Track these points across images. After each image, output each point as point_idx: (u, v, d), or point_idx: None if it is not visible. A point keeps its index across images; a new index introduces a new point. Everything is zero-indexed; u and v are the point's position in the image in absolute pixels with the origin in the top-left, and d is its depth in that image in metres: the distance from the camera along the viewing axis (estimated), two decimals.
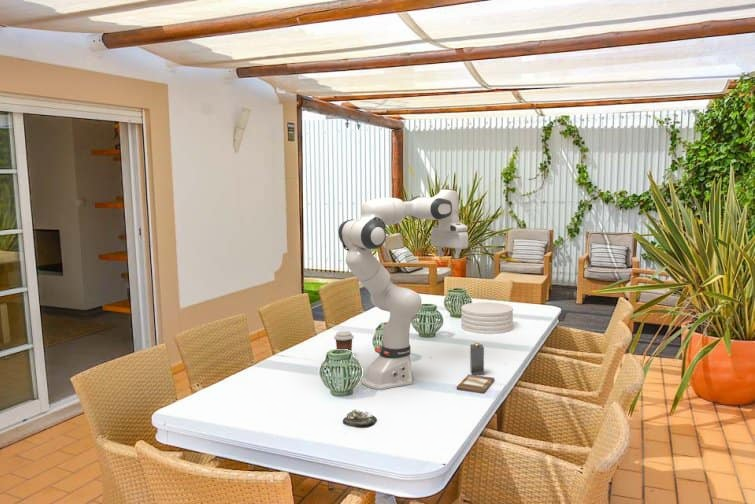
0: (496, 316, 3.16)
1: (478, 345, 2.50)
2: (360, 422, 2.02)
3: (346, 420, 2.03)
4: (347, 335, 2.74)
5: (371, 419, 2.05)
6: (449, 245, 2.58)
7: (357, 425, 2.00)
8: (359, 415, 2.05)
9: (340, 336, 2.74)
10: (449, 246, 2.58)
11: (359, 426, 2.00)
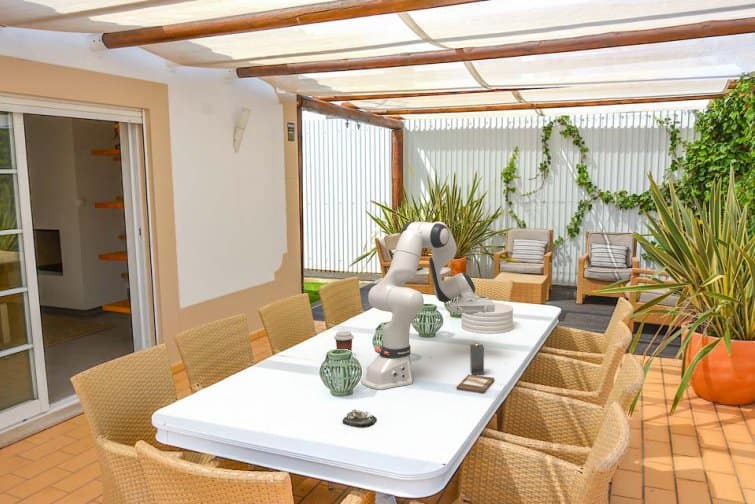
0: (496, 316, 3.16)
1: (478, 345, 2.50)
2: (359, 422, 2.02)
3: (346, 420, 2.04)
4: (347, 335, 2.74)
5: (371, 419, 2.05)
6: (477, 304, 2.67)
7: (357, 425, 2.00)
8: (359, 415, 2.05)
9: (340, 336, 2.74)
10: (477, 304, 2.67)
11: (359, 426, 2.00)
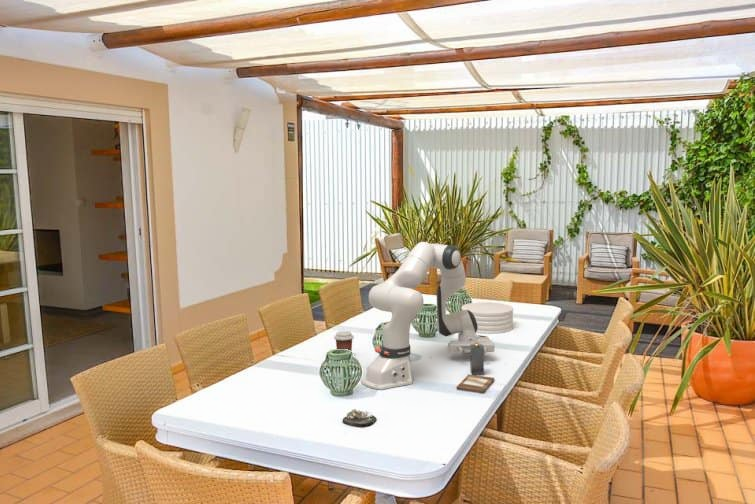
0: (496, 316, 3.16)
1: (478, 345, 2.50)
2: (359, 421, 2.02)
3: (346, 419, 2.04)
4: (347, 335, 2.74)
5: (371, 419, 2.05)
6: None
7: (356, 425, 2.00)
8: (359, 415, 2.05)
9: (340, 336, 2.74)
10: None
11: (358, 426, 2.00)
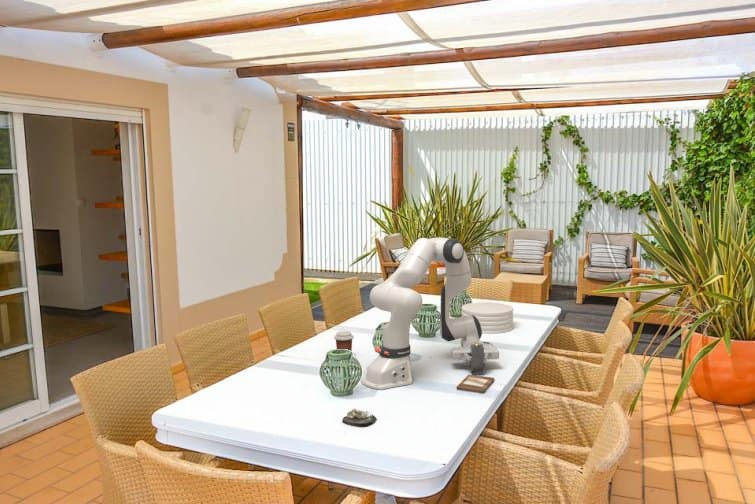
0: (496, 316, 3.16)
1: (478, 345, 2.50)
2: (359, 421, 2.02)
3: (345, 419, 2.04)
4: (347, 335, 2.74)
5: (371, 419, 2.05)
6: None
7: (356, 425, 2.01)
8: (359, 414, 2.05)
9: (340, 336, 2.74)
10: None
11: (358, 425, 2.01)
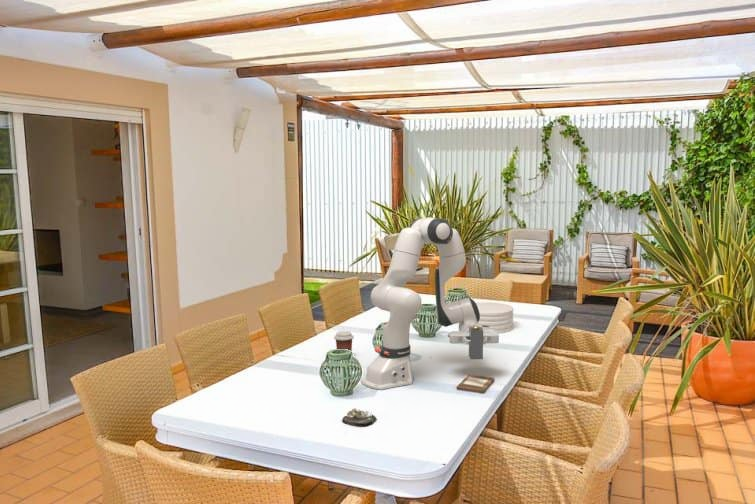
0: (496, 316, 3.16)
1: (477, 328, 2.39)
2: (358, 421, 2.02)
3: (345, 419, 2.05)
4: (347, 335, 2.74)
5: (370, 418, 2.05)
6: None
7: (356, 424, 2.01)
8: (358, 414, 2.05)
9: (340, 336, 2.74)
10: None
11: (357, 425, 2.01)
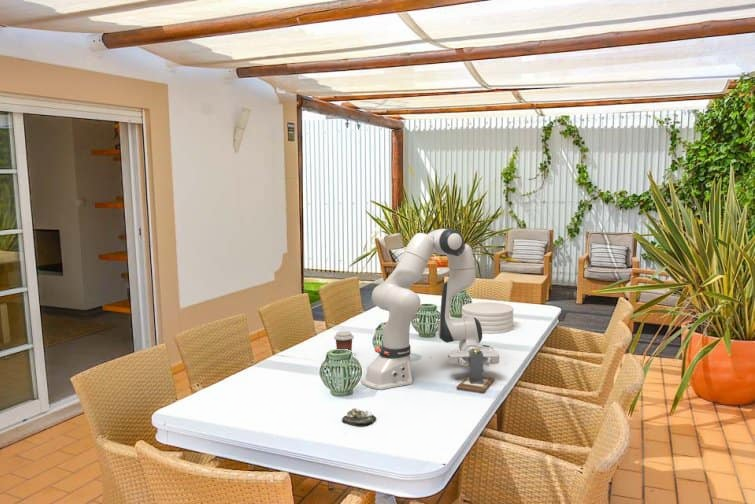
0: (496, 316, 3.16)
1: (477, 352, 2.36)
2: (358, 420, 2.03)
3: (345, 418, 2.05)
4: (347, 335, 2.74)
5: (370, 418, 2.05)
6: None
7: (355, 424, 2.01)
8: (358, 414, 2.06)
9: (340, 336, 2.74)
10: None
11: (357, 425, 2.01)
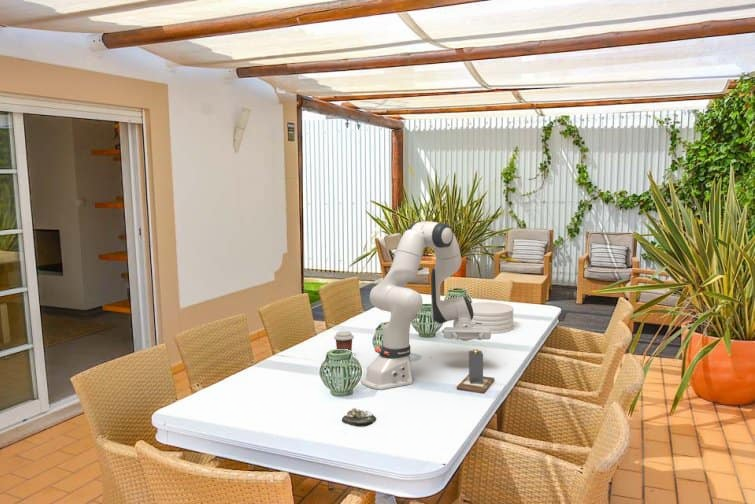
0: (496, 316, 3.16)
1: (477, 352, 2.36)
2: (358, 420, 2.03)
3: (345, 418, 2.05)
4: (347, 335, 2.74)
5: (370, 418, 2.06)
6: (472, 330, 2.55)
7: (355, 424, 2.01)
8: (358, 414, 2.06)
9: (340, 336, 2.74)
10: (472, 331, 2.54)
11: (357, 425, 2.01)
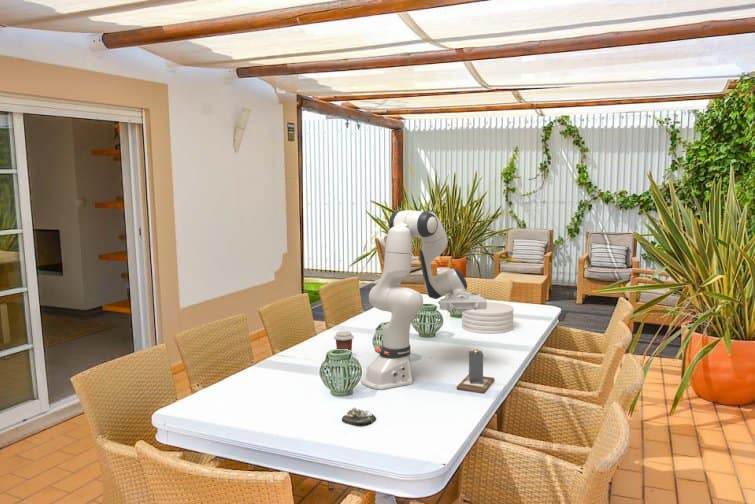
0: (497, 316, 3.16)
1: (477, 352, 2.36)
2: (358, 420, 2.03)
3: (345, 418, 2.05)
4: (347, 335, 2.74)
5: (370, 418, 2.06)
6: (468, 300, 2.57)
7: (355, 424, 2.02)
8: (358, 413, 2.06)
9: (340, 336, 2.74)
10: (468, 301, 2.57)
11: (356, 424, 2.01)
